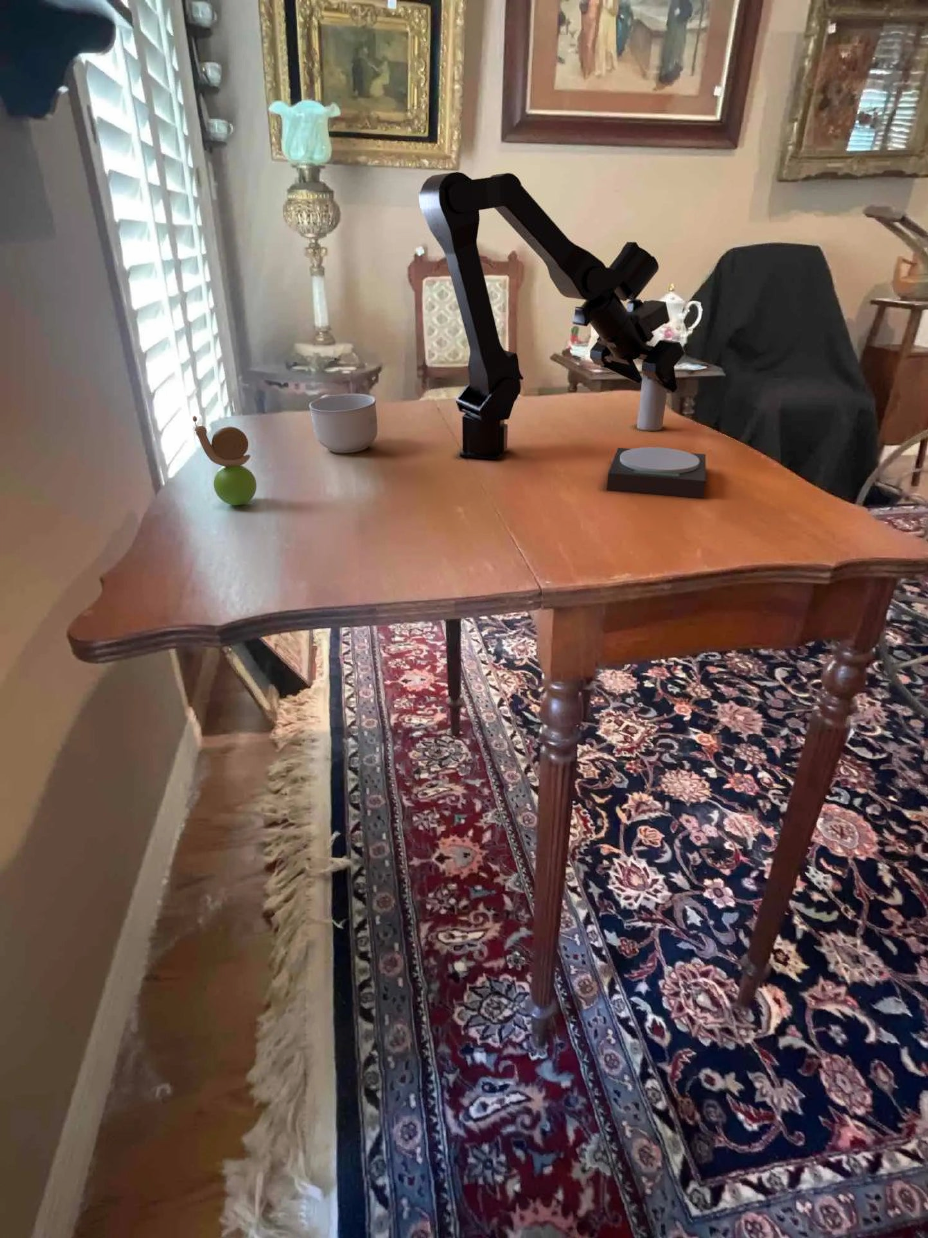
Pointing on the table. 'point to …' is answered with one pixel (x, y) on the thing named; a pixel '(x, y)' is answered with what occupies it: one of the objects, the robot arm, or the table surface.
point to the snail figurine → (229, 463)
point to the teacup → (344, 421)
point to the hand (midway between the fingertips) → (656, 385)
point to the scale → (658, 472)
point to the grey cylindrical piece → (651, 406)
